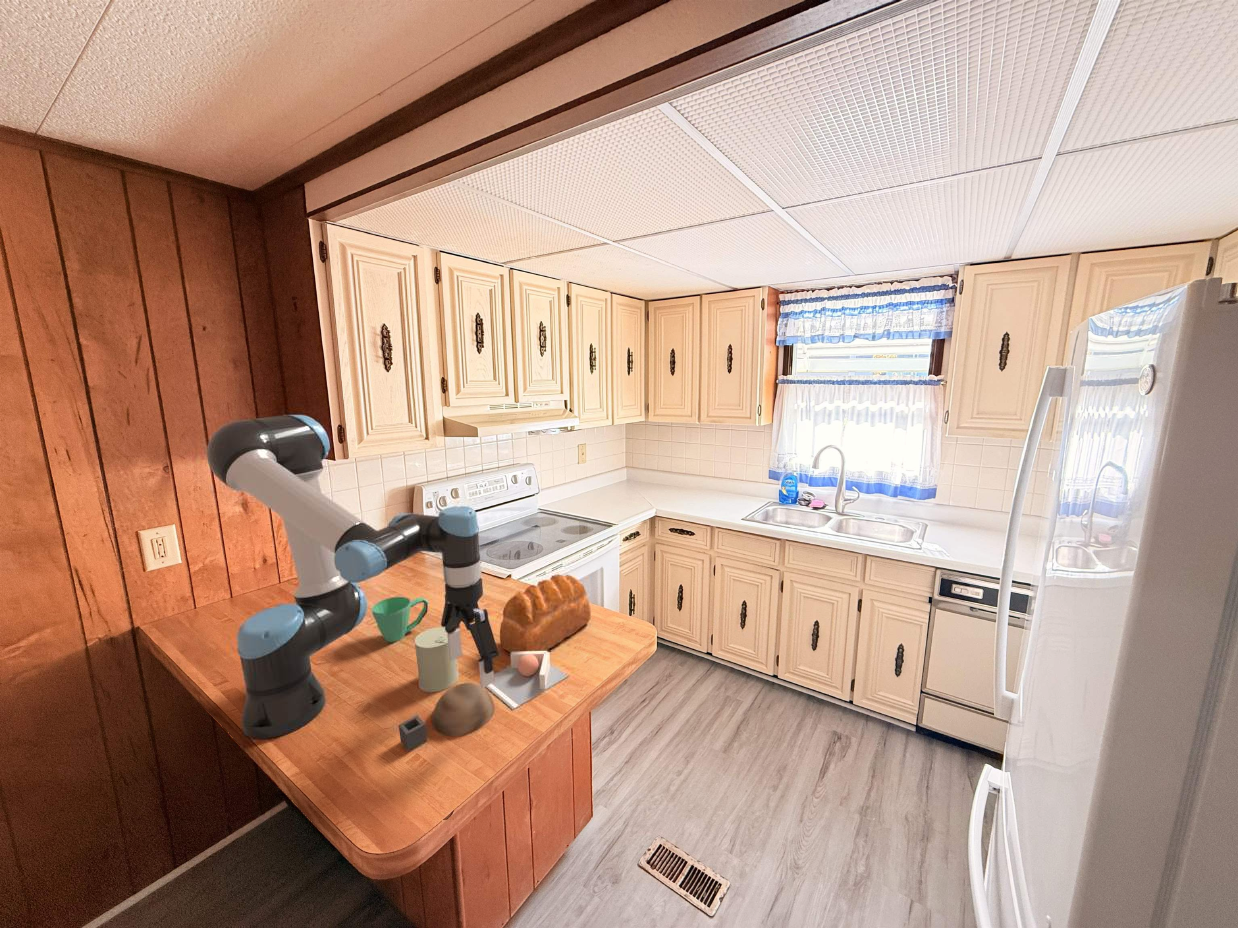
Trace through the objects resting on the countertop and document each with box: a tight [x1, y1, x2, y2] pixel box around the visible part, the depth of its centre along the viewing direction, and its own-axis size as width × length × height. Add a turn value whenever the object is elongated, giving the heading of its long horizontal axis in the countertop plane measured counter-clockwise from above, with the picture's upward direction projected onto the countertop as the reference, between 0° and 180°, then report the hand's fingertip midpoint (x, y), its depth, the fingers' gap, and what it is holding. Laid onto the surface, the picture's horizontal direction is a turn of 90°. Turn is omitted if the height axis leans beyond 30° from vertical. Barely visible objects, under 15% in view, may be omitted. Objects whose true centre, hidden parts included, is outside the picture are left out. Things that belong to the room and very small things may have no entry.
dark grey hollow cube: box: [398, 714, 428, 753], centre depth 97 cm, size 4×4×4 cm
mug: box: [371, 596, 429, 643], centre depth 136 cm, size 15×10×10 cm
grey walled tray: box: [479, 650, 569, 711], centre depth 116 cm, size 16×14×4 cm
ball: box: [518, 654, 539, 676], centre depth 118 cm, size 5×5×5 cm
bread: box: [499, 573, 592, 653], centre depth 135 cm, size 14×26×16 cm, turn 143°
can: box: [413, 626, 460, 693], centre depth 116 cm, size 9×9×12 cm
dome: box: [432, 682, 495, 737], centre depth 105 cm, size 13×13×13 cm
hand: (471, 670), depth 105 cm, fingers open, 13 cm apart
